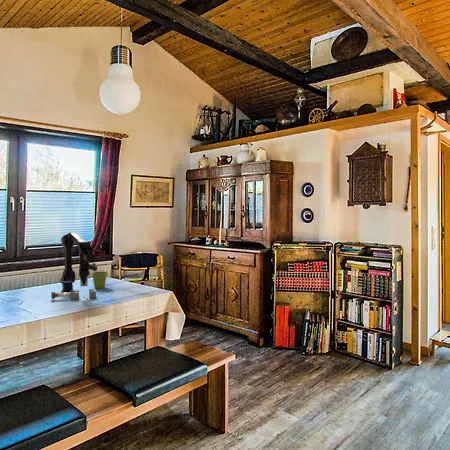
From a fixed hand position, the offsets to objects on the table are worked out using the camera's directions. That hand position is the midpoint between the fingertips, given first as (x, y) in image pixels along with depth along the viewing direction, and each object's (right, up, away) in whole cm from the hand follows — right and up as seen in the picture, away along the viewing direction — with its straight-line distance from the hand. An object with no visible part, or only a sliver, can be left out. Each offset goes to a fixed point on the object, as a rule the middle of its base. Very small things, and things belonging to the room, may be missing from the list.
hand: (84, 283), depth 256 cm
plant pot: (-1, -8, +34) cm, 35 cm away
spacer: (0, -1, 0) cm, 1 cm away
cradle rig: (-1, -9, 0) cm, 9 cm away
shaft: (-11, -9, -4) cm, 14 cm away
